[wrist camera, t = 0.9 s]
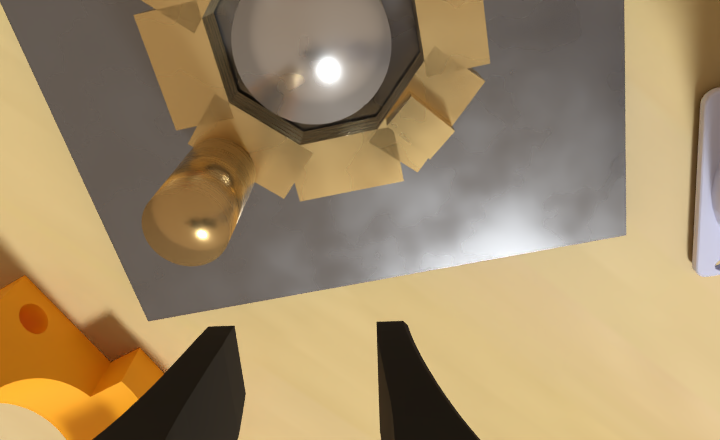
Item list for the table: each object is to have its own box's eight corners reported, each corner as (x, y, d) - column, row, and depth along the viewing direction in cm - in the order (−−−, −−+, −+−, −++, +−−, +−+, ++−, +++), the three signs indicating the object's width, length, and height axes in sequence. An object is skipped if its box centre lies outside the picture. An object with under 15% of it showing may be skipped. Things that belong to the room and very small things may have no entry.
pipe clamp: (223, 433, 29) (188, 556, 23) (156, 463, 30) (107, 589, 24) (57, 255, 24) (-38, 354, 18) (-16, 297, 25) (-128, 404, 19)
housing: (604, -455, 15) (682, -583, 11) (615, 223, 23) (662, 275, 20) (-95, -248, 17) (-221, -300, 13) (155, 307, 25) (121, 368, 22)
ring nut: (452, -195, 16) (495, -260, 11) (492, 147, 21) (536, 217, 15) (102, -105, 17) (-12, -124, 12) (213, 202, 22) (166, 286, 16)
